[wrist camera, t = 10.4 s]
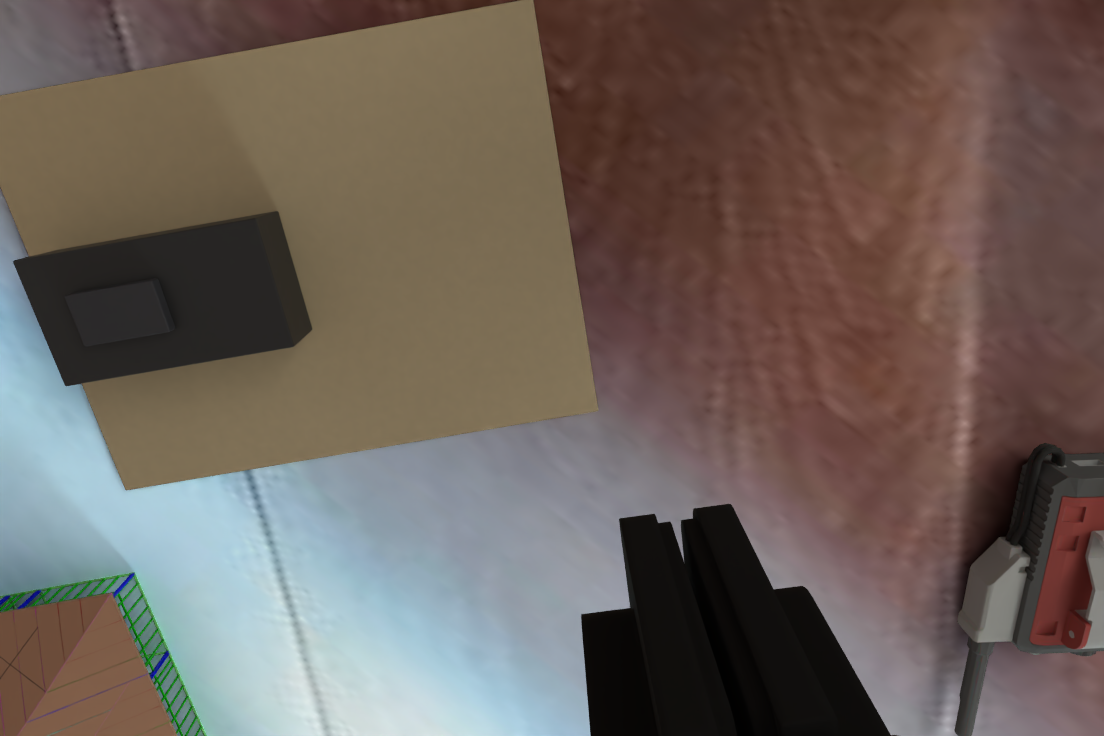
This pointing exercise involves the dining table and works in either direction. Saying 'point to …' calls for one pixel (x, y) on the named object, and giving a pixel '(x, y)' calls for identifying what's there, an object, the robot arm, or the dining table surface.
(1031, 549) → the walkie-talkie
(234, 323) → the block
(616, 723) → the robot arm
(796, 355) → the dining table surface
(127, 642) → the house
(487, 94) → the cork mat
